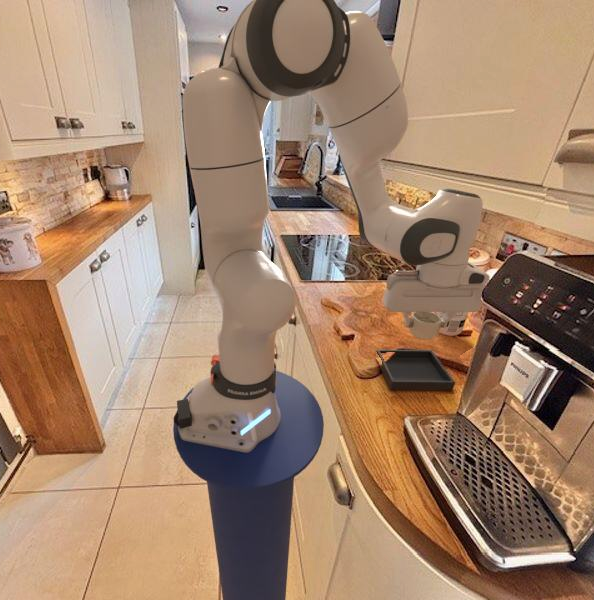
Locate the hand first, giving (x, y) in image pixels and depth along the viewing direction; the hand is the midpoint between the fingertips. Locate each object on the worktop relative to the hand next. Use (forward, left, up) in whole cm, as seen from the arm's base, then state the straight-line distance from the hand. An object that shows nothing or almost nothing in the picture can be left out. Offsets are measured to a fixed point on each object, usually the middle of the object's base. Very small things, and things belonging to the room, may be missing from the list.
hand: (424, 326), depth 74 cm
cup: (0, 0, -2) cm, 2 cm away
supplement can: (+18, +20, -14) cm, 30 cm away
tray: (0, 0, -14) cm, 14 cm away
